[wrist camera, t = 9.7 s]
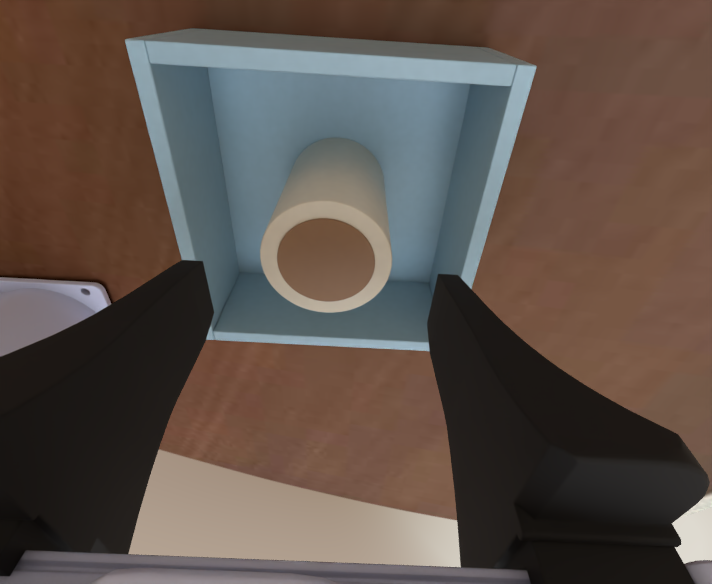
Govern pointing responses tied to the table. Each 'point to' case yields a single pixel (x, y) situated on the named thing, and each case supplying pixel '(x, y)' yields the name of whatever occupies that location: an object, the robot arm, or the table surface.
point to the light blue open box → (308, 125)
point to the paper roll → (330, 229)
